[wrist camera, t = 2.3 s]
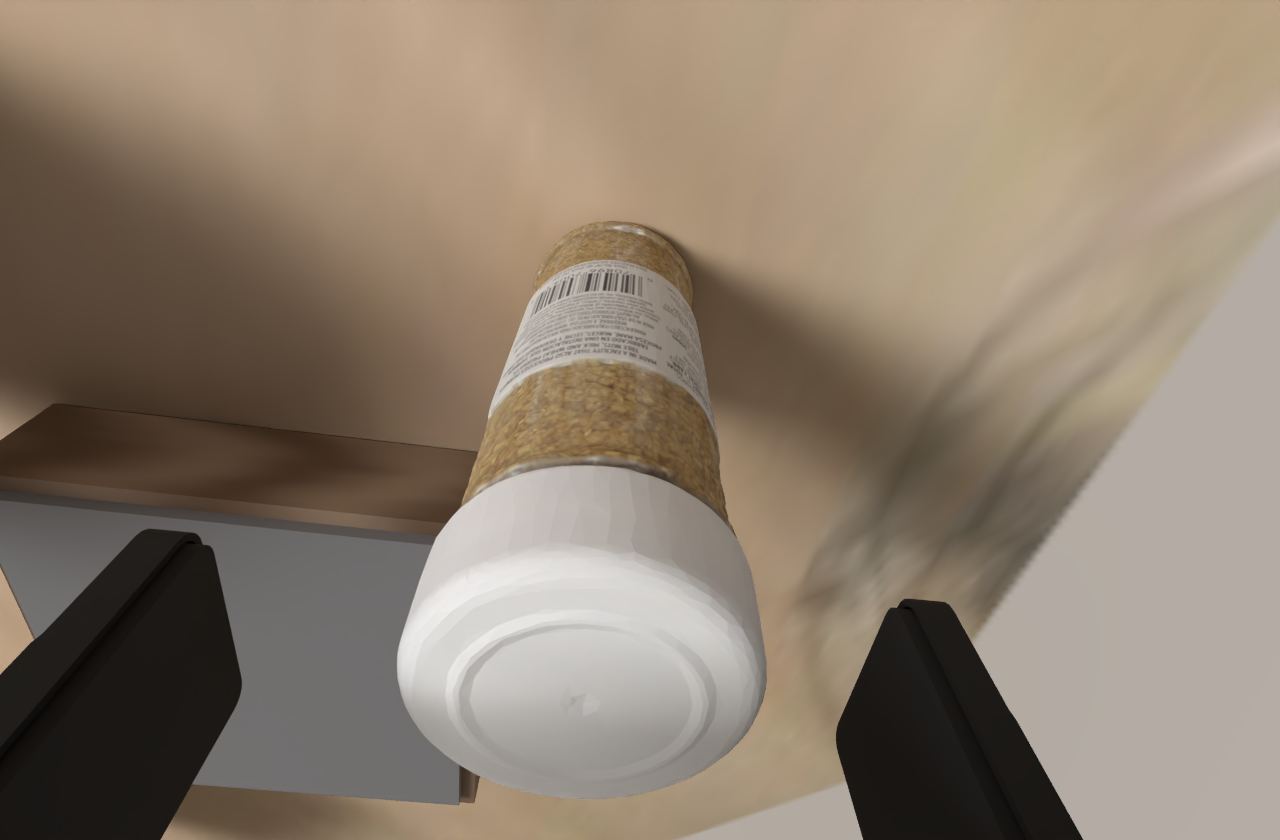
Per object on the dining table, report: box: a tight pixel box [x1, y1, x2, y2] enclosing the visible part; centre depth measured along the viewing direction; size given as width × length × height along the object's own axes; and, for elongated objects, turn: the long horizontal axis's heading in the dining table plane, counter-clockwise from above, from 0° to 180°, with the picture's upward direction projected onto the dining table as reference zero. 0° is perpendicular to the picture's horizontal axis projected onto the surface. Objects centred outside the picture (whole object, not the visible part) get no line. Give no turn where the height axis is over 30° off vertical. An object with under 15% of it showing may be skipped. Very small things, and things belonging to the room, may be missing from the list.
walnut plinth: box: [0, 404, 480, 805], centre depth 24 cm, size 14×14×4 cm
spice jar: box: [397, 221, 767, 799], centre depth 14 cm, size 5×5×14 cm
